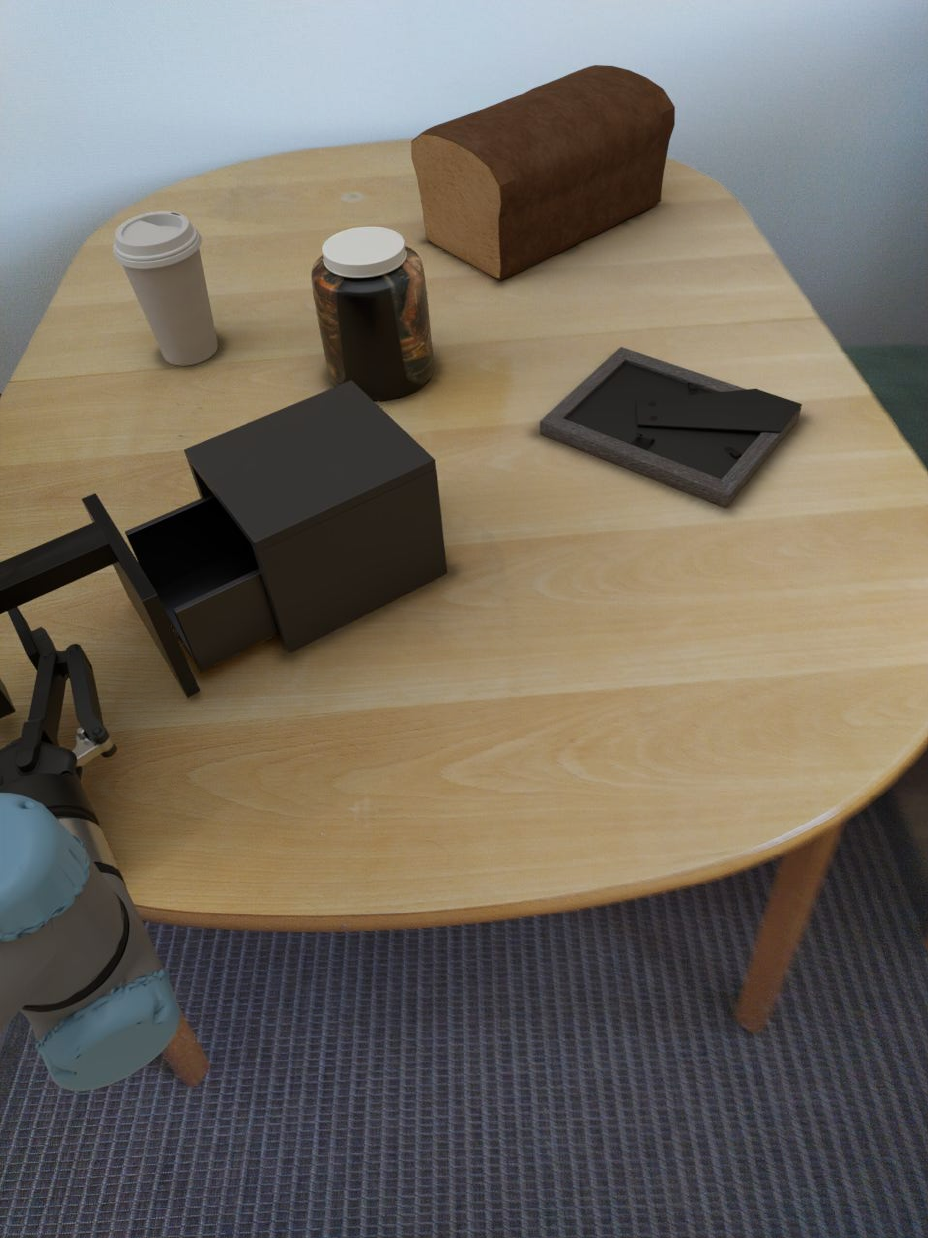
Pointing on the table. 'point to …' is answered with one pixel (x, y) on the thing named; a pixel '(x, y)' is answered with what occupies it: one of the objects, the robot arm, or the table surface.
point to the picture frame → (673, 424)
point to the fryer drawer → (160, 582)
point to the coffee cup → (169, 283)
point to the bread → (544, 168)
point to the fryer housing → (328, 508)
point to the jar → (373, 312)
